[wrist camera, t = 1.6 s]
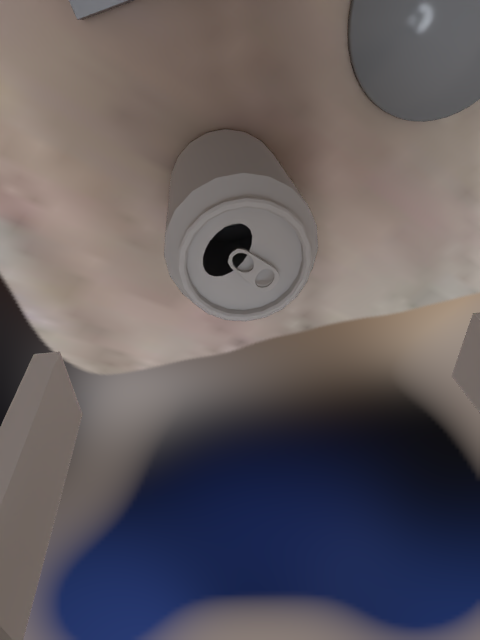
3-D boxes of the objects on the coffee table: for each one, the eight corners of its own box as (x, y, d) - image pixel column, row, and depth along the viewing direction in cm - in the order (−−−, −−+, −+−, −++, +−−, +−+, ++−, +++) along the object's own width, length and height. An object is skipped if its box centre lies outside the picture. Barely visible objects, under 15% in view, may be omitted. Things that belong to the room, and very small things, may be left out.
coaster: (361, -117, 21) (365, -120, 20) (569, -120, 22) (578, -123, 21) (338, 124, 27) (341, 126, 27) (500, 115, 28) (505, 116, 27)
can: (210, 100, 26) (226, 146, 16) (301, 171, 29) (362, 246, 19) (149, 200, 29) (131, 290, 19) (237, 254, 32) (261, 356, 22)
